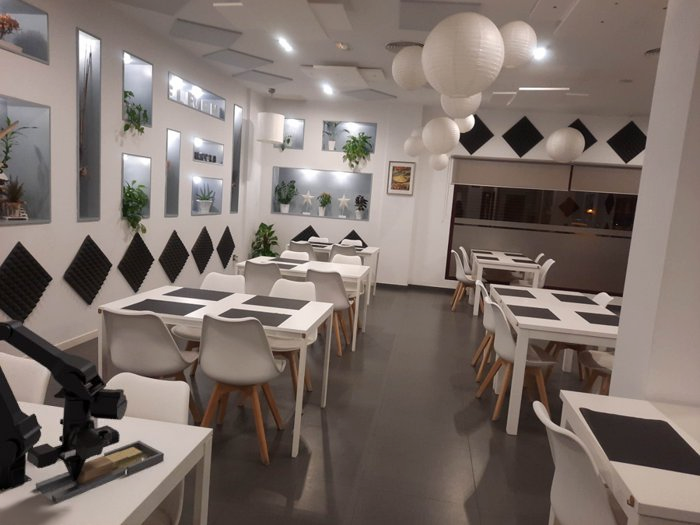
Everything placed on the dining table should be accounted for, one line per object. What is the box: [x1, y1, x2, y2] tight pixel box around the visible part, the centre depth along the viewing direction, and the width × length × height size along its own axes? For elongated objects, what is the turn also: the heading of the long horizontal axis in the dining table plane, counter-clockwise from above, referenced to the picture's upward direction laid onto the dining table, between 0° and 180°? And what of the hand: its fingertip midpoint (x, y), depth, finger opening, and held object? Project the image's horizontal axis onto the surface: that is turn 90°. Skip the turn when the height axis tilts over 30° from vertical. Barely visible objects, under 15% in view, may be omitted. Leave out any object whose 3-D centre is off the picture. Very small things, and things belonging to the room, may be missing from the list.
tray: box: [103, 440, 165, 476], centre depth 131 cm, size 11×10×3 cm
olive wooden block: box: [105, 452, 128, 471], centre depth 126 cm, size 4×4×3 cm
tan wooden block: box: [121, 447, 143, 466], centre depth 130 cm, size 4×4×3 cm
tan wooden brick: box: [77, 455, 113, 483], centre depth 122 cm, size 4×7×3 cm, turn 146°
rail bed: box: [35, 468, 127, 504], centre depth 119 cm, size 9×16×2 cm, turn 147°
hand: (74, 480), depth 118 cm, fingers closed
